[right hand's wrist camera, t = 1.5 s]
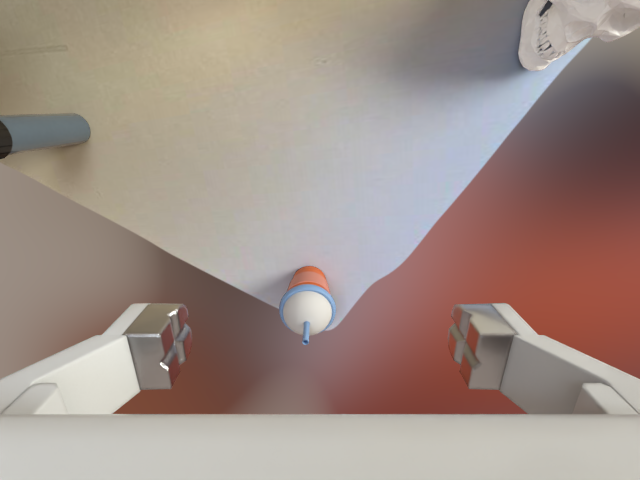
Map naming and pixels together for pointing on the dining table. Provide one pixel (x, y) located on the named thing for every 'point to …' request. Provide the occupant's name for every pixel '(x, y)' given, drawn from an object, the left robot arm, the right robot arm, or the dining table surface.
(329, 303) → the cup with straw
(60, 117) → the bottle
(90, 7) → the dining table surface
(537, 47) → the skull
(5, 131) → the lid
